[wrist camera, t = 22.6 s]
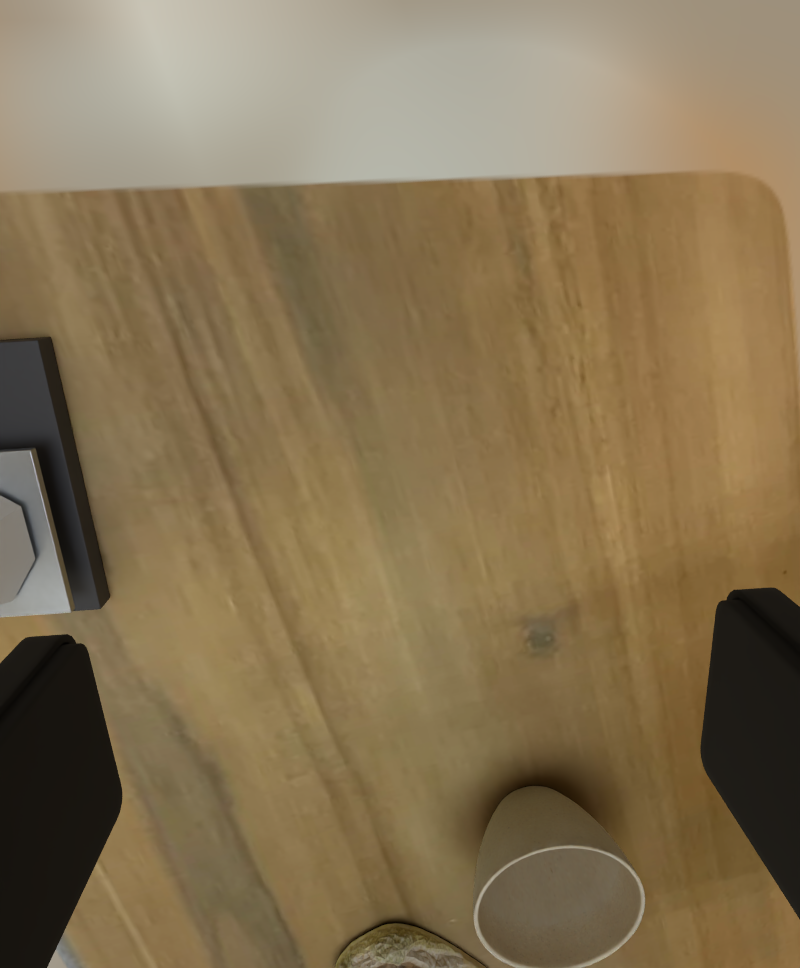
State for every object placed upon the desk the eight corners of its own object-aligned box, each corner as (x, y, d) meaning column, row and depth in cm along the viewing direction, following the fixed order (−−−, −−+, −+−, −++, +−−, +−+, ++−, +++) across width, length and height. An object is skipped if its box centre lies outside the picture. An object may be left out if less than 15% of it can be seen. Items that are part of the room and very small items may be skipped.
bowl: (514, 891, 47) (537, 998, 40) (430, 806, 44) (439, 905, 37) (632, 821, 45) (678, 921, 38) (552, 729, 42) (586, 818, 35)
